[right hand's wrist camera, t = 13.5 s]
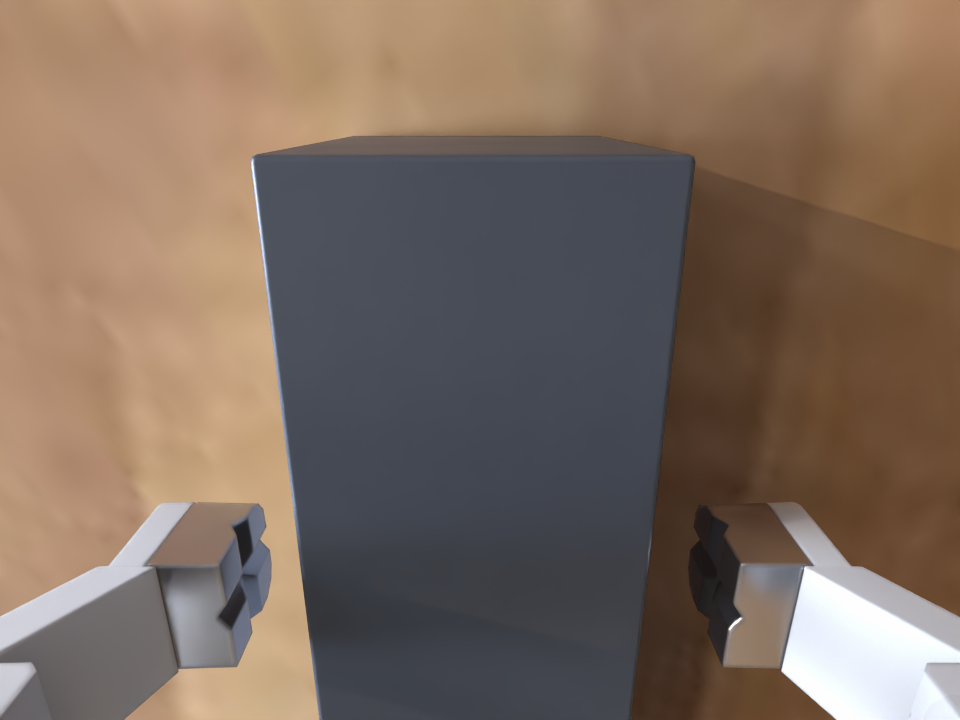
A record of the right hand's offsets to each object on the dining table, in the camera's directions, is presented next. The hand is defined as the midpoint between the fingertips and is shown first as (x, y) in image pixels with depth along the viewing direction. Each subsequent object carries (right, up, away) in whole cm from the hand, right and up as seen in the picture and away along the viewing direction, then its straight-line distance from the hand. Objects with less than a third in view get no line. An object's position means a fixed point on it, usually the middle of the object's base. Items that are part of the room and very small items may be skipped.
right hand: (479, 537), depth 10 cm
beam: (0, -28, +16) cm, 32 cm away
